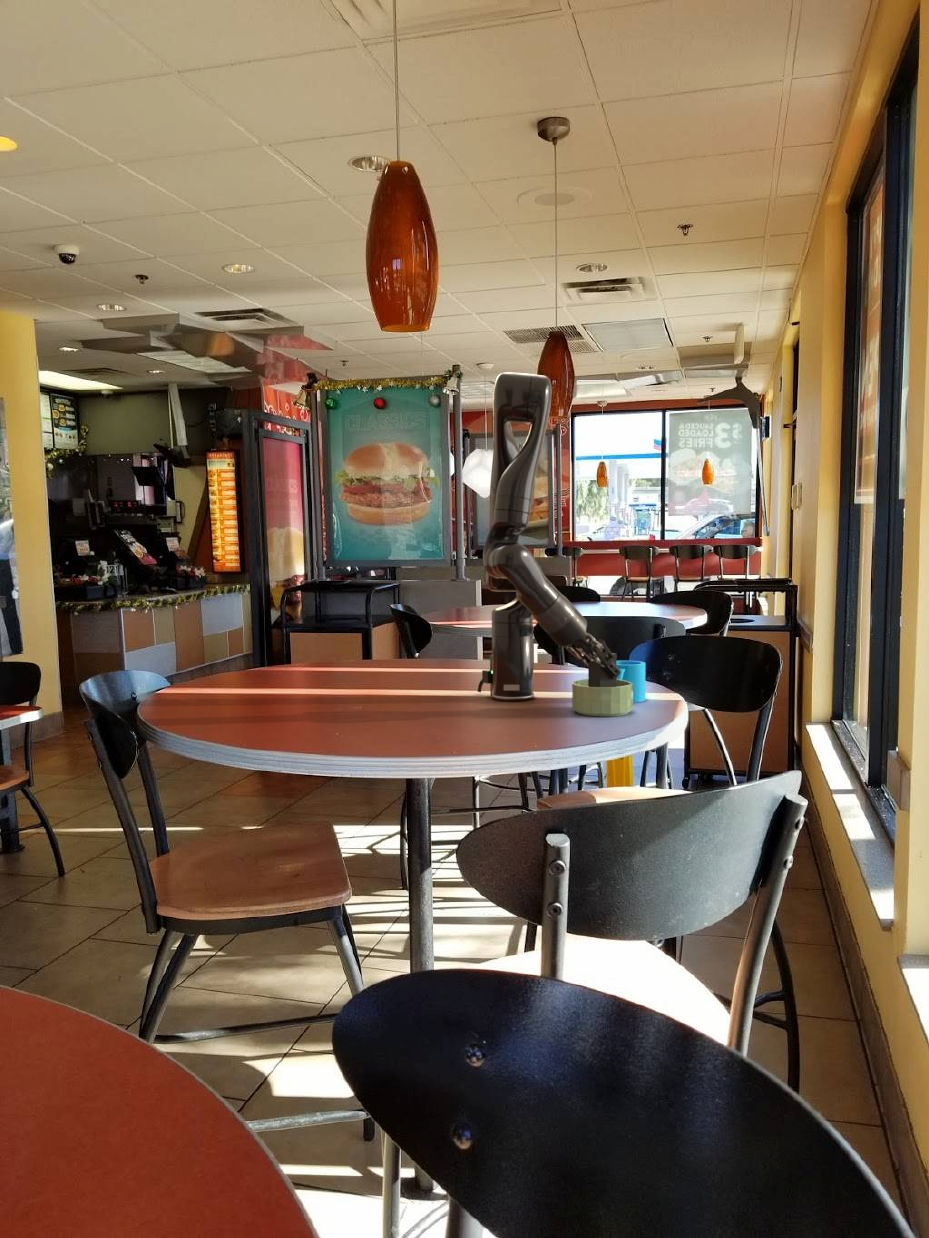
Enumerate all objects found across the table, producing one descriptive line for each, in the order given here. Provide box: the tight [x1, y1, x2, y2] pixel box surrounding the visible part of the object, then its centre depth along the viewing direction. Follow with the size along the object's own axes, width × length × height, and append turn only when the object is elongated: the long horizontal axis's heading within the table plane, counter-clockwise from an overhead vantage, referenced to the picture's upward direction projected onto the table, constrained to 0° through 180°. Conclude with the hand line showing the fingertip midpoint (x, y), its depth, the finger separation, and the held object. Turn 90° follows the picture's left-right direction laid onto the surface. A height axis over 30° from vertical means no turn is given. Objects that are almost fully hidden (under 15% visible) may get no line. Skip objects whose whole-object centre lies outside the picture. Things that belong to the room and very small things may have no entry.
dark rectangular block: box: [587, 652, 618, 687], centre depth 189 cm, size 4×4×9 cm
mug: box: [617, 660, 646, 704], centre depth 202 cm, size 12×8×8 cm
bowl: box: [571, 678, 634, 718], centre depth 190 cm, size 12×12×6 cm
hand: (610, 674), depth 190 cm, fingers closed on dark rectangular block, 4 cm apart
